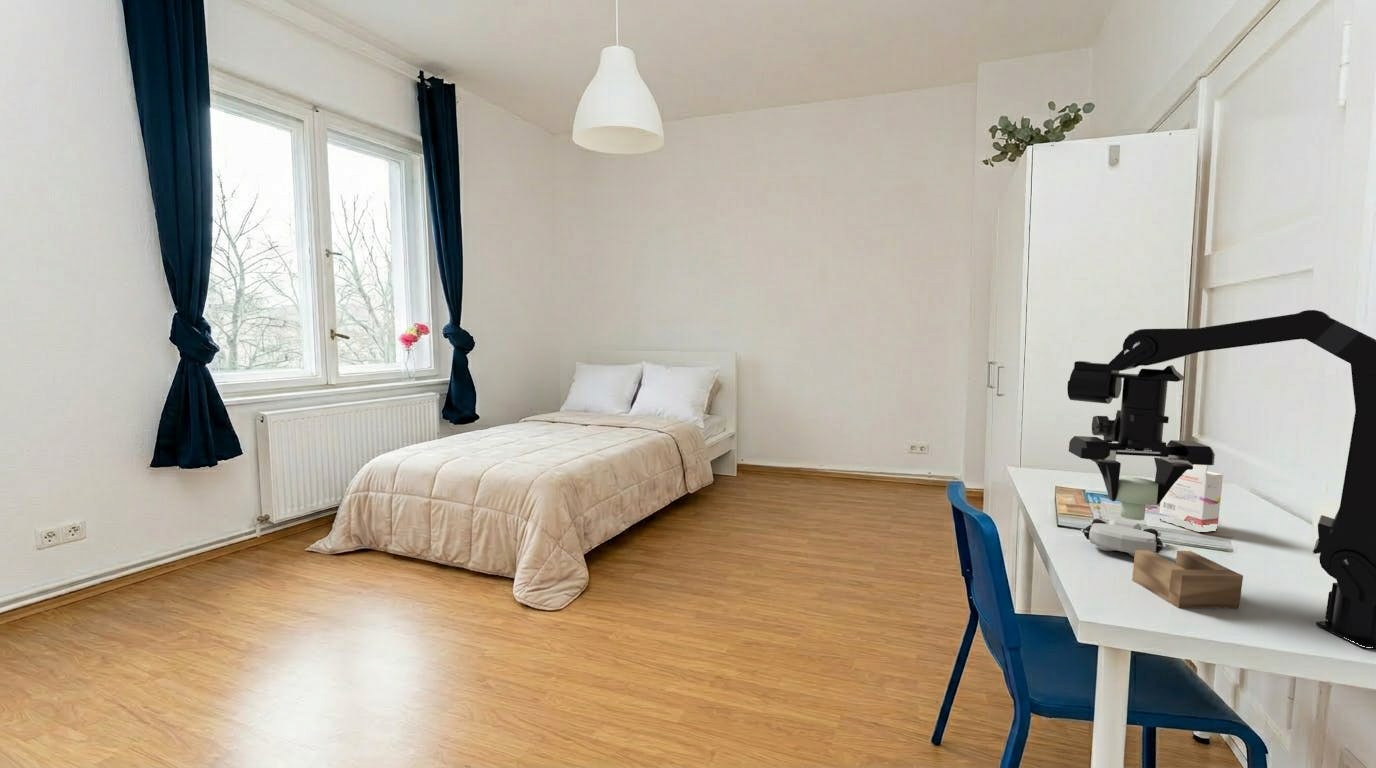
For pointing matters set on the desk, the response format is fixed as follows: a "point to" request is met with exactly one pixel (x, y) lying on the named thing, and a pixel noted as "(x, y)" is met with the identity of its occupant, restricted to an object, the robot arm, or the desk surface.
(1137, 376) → the robot arm
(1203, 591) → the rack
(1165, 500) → the ink cartridge box
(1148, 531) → the robot toy
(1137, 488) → the peg
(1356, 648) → the desk surface
